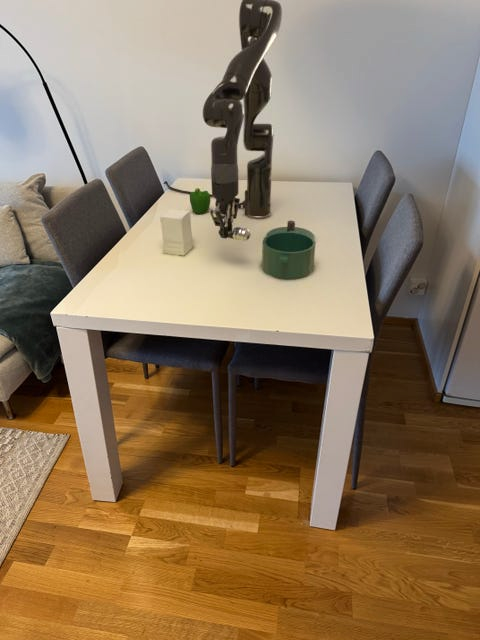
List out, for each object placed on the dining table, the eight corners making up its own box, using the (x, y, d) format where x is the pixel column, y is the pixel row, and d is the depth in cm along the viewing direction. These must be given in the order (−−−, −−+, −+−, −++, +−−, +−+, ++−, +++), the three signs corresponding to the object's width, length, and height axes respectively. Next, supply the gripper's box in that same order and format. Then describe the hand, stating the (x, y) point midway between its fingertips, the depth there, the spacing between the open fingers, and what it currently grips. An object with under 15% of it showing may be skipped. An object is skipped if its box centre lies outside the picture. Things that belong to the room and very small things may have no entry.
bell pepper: (201, 207, 184) (200, 182, 178) (214, 211, 179) (214, 186, 173) (185, 212, 179) (183, 187, 173) (198, 217, 174) (197, 191, 168)
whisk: (215, 237, 133) (215, 225, 131) (222, 233, 136) (221, 221, 134) (246, 244, 129) (246, 232, 127) (252, 239, 132) (252, 227, 129)
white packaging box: (193, 247, 151) (191, 210, 144) (184, 256, 145) (181, 218, 138) (173, 244, 153) (170, 208, 146) (163, 253, 147) (159, 216, 140)
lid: (262, 246, 151) (263, 229, 148) (270, 227, 165) (271, 211, 161) (311, 250, 148) (313, 233, 145) (316, 231, 161) (317, 215, 158)
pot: (256, 280, 131) (256, 254, 126) (268, 251, 148) (269, 226, 143) (309, 286, 128) (312, 259, 123) (315, 255, 145) (318, 230, 140)
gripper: (225, 169, 130) (226, 226, 140) (199, 182, 120) (203, 242, 130) (248, 173, 127) (248, 230, 137) (224, 186, 117) (225, 247, 127)
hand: (226, 236), depth 133 cm, fingers closed on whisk, 2 cm apart
